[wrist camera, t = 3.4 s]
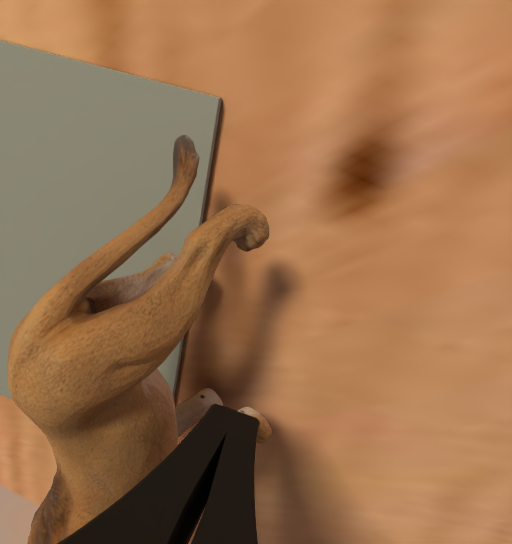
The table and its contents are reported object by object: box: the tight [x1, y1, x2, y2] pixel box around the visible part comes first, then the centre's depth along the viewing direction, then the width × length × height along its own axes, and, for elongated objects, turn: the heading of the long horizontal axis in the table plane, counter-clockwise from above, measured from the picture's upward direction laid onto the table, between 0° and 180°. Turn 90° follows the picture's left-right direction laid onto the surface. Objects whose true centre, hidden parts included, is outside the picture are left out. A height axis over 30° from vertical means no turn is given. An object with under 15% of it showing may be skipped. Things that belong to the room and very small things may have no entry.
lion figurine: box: [8, 135, 272, 544], centre depth 13 cm, size 15×5×9 cm, turn 6°
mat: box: [0, 40, 222, 399], centre depth 17 cm, size 12×16×1 cm
